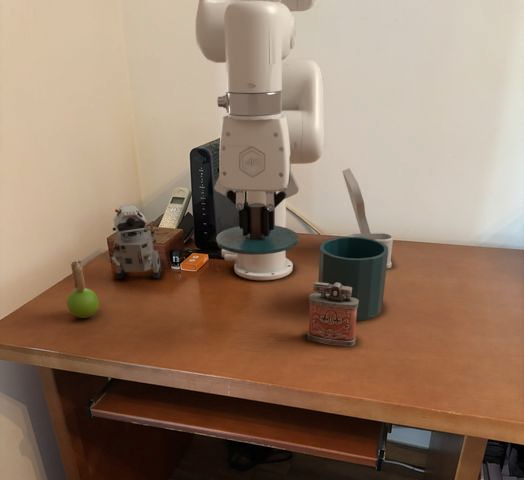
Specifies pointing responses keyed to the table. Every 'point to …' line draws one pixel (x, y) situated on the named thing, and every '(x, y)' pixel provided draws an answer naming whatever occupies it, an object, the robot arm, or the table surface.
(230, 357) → the table surface
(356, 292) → the tin
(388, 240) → the phone holder
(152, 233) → the figurine
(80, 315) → the green ball with peg
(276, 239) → the tin lid
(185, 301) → the table surface
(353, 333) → the lighter
